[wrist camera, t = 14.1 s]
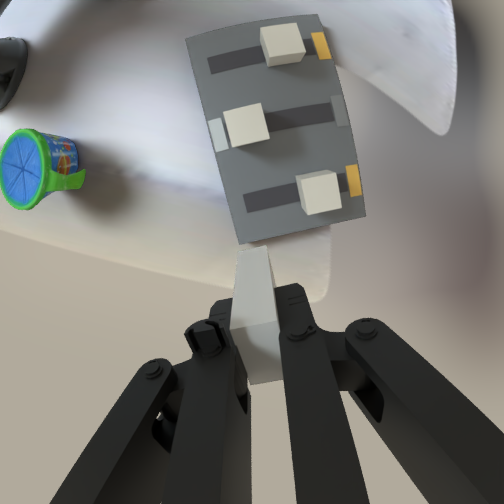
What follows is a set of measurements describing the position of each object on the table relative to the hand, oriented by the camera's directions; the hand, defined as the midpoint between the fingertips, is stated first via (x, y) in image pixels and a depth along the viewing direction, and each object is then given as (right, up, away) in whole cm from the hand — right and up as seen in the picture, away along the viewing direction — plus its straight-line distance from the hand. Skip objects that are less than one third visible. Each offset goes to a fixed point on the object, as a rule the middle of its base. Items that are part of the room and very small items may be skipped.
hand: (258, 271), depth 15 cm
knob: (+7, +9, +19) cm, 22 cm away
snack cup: (-29, +15, +19) cm, 38 cm away
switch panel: (+3, +17, +18) cm, 25 cm away
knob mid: (-1, +16, +16) cm, 22 cm away
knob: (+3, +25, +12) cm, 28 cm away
